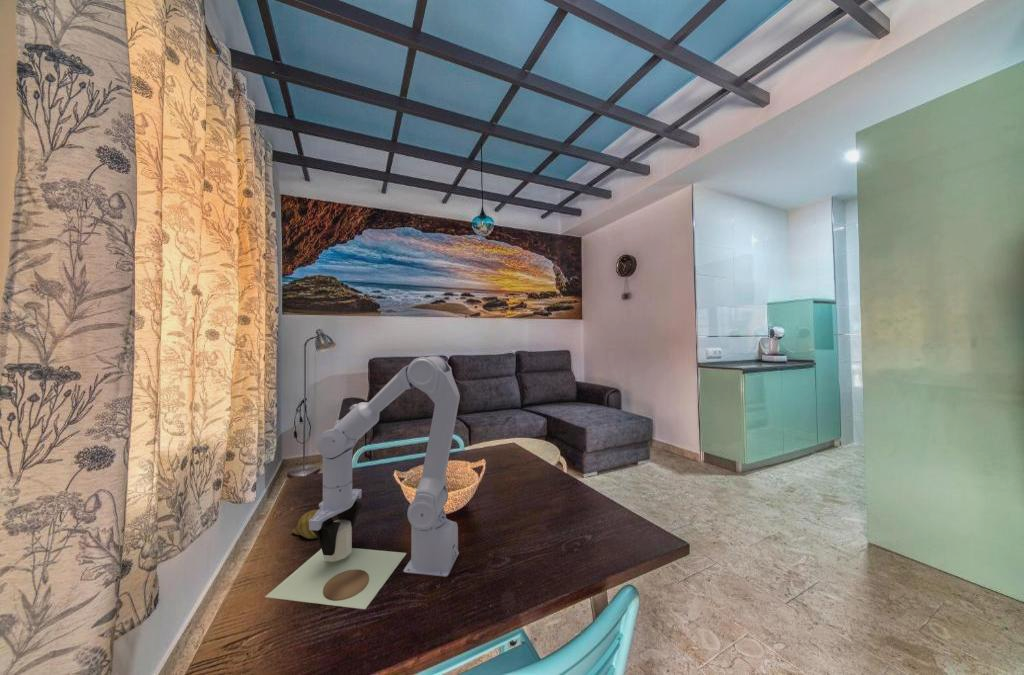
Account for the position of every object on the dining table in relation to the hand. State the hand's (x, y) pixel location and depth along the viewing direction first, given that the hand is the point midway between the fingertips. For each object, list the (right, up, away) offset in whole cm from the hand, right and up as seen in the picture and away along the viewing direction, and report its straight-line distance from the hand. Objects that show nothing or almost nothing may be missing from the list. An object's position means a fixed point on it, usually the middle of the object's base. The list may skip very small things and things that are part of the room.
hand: (337, 546), depth 73 cm
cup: (0, -2, 0) cm, 2 cm away
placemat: (+3, -3, -5) cm, 6 cm away
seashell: (-12, -4, +10) cm, 16 cm away
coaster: (+6, -3, -8) cm, 10 cm away
